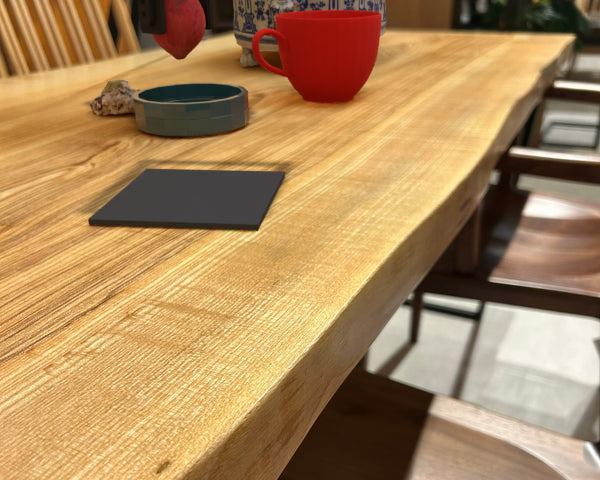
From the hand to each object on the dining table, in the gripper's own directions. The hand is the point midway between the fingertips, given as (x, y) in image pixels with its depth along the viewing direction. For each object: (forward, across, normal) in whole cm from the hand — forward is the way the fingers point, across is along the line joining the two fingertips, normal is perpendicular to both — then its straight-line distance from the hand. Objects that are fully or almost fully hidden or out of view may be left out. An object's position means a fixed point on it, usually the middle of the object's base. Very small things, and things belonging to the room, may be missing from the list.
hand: (178, 29), depth 66 cm
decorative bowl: (+10, -49, -19) cm, 54 cm away
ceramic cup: (+10, -19, +4) cm, 21 cm away
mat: (+10, +17, +19) cm, 27 cm away
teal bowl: (+10, -1, +1) cm, 10 cm away
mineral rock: (+10, -2, -13) cm, 17 cm away
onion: (+3, 0, 0) cm, 3 cm away
